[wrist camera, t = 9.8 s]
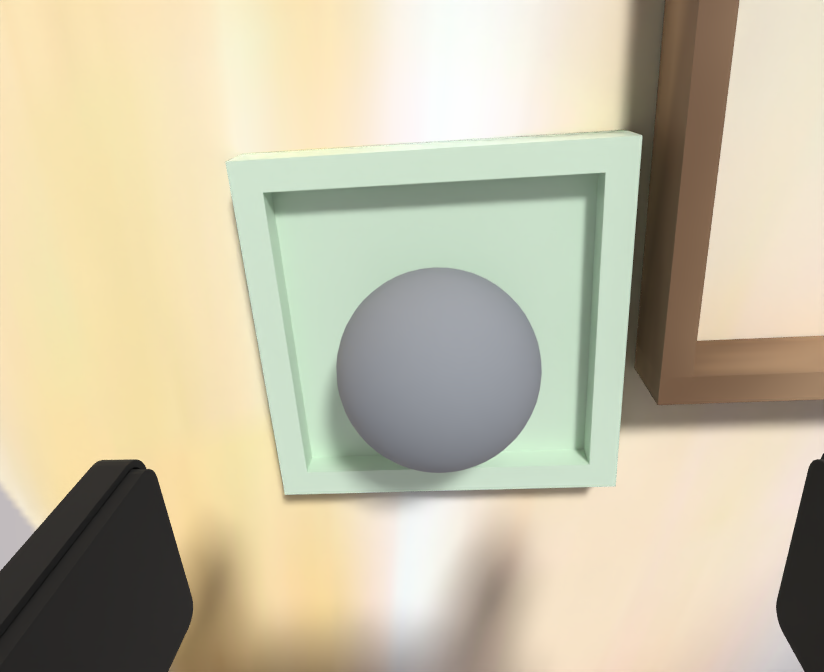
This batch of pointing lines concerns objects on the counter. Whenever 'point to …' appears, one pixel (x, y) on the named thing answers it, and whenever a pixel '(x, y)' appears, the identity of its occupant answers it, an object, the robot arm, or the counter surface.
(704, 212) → the wooden picture frame
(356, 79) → the counter surface
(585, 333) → the dish
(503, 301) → the ball
